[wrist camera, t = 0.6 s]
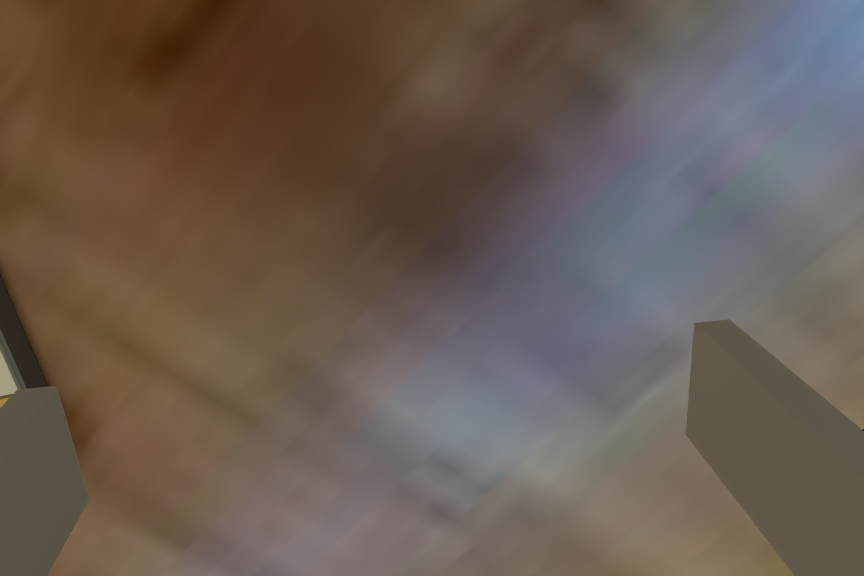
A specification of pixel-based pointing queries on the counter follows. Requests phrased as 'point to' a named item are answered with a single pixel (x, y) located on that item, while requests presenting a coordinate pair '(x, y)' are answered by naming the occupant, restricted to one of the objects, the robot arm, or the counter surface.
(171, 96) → the counter surface
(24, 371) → the board with cream panels
